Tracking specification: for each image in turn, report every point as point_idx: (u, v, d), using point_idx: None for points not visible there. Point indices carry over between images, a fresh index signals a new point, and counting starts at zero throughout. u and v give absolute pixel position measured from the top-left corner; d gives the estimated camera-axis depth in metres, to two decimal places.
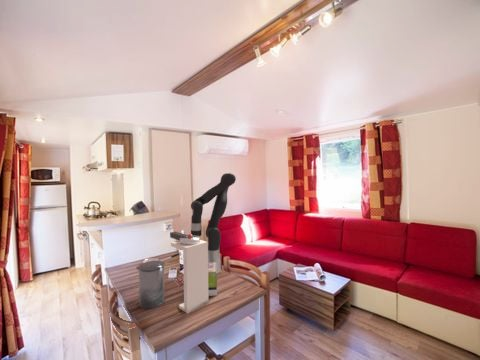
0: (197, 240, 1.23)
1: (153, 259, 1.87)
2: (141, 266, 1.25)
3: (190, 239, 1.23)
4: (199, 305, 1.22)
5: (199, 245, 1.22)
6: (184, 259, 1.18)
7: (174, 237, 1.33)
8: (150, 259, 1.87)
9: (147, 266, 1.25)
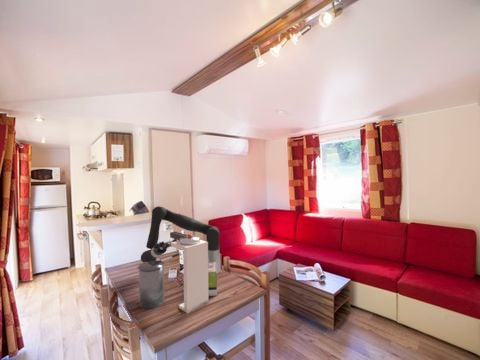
0: (197, 240, 1.23)
1: None
2: (141, 266, 1.25)
3: (190, 239, 1.23)
4: (199, 305, 1.22)
5: (199, 245, 1.22)
6: (184, 259, 1.18)
7: (174, 237, 1.33)
8: None
9: (147, 266, 1.25)
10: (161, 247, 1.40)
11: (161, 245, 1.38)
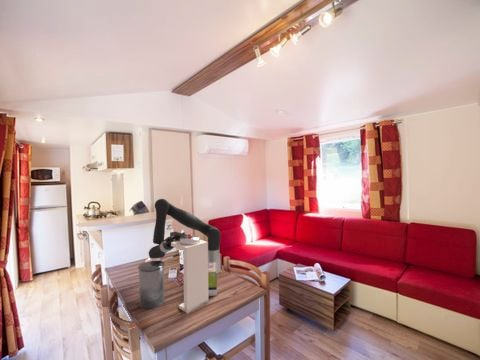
0: (197, 240, 1.23)
1: (155, 259, 1.88)
2: (141, 266, 1.25)
3: (190, 239, 1.23)
4: (199, 305, 1.22)
5: (199, 245, 1.22)
6: (184, 259, 1.18)
7: None
8: (152, 259, 1.87)
9: (147, 266, 1.25)
10: (174, 240, 1.33)
11: (175, 237, 1.31)
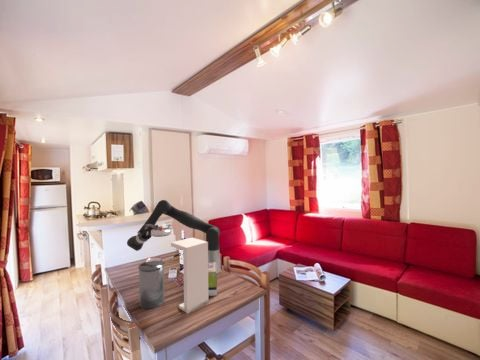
0: (167, 232, 1.29)
1: (156, 259, 1.88)
2: (141, 266, 1.25)
3: (160, 231, 1.29)
4: (199, 305, 1.22)
5: (199, 245, 1.22)
6: (184, 259, 1.18)
7: None
8: (153, 258, 1.88)
9: (147, 266, 1.25)
10: (148, 232, 1.40)
11: (148, 229, 1.37)
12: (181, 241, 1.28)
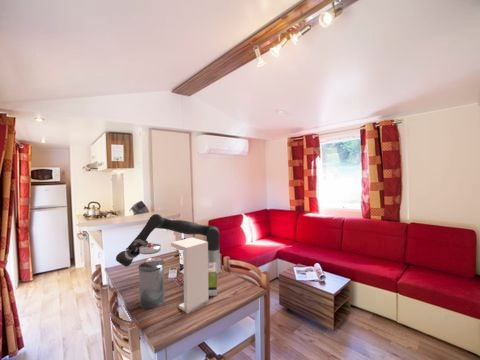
0: (156, 249, 1.24)
1: (156, 259, 1.88)
2: (141, 266, 1.25)
3: (149, 248, 1.24)
4: (199, 305, 1.22)
5: (199, 245, 1.22)
6: (184, 259, 1.18)
7: None
8: (154, 258, 1.88)
9: (147, 266, 1.25)
10: (137, 248, 1.34)
11: (137, 246, 1.32)
12: (181, 241, 1.28)
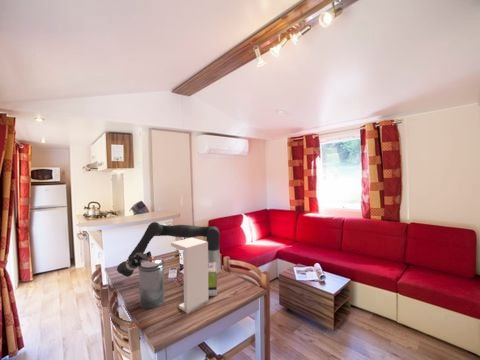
0: (158, 263, 1.24)
1: None
2: None
3: (151, 263, 1.24)
4: (199, 305, 1.22)
5: (199, 245, 1.22)
6: (184, 259, 1.18)
7: (138, 259, 1.35)
8: None
9: None
10: (136, 260, 1.34)
11: (136, 258, 1.31)
12: (181, 241, 1.28)
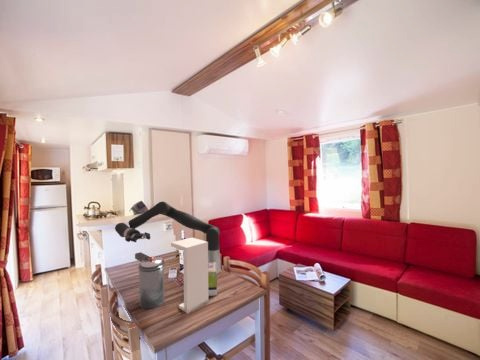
0: (158, 263, 1.24)
1: None
2: None
3: (150, 263, 1.24)
4: (199, 305, 1.22)
5: (199, 245, 1.22)
6: (184, 259, 1.18)
7: (138, 259, 1.35)
8: None
9: None
10: None
11: (133, 241, 1.38)
12: (181, 241, 1.28)
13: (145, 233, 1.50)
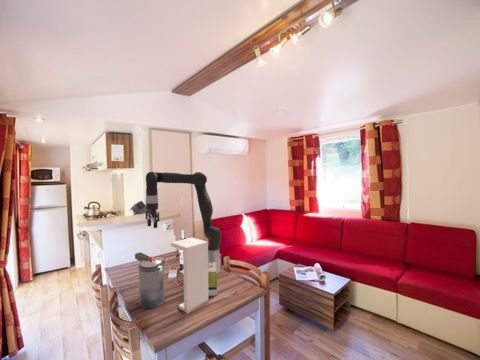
0: (158, 263, 1.24)
1: None
2: None
3: (151, 263, 1.24)
4: (199, 305, 1.22)
5: (199, 245, 1.22)
6: (184, 259, 1.18)
7: (138, 259, 1.35)
8: None
9: None
10: (153, 219, 1.44)
11: (154, 224, 1.44)
12: (181, 241, 1.28)
13: None
